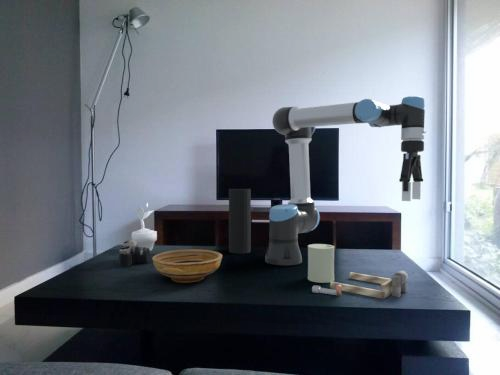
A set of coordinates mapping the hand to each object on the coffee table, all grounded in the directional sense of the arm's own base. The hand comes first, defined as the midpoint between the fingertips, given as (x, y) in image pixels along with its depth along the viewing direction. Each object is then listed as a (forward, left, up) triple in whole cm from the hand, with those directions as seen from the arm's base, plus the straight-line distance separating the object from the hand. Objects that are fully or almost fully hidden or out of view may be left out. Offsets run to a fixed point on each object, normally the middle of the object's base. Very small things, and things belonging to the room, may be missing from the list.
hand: (411, 200), depth 133 cm
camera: (-92, -52, -28) cm, 109 cm away
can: (-23, -24, -27) cm, 43 cm away
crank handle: (-14, -37, -27) cm, 48 cm away
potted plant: (-110, -34, -27) cm, 118 cm away
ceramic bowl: (-60, -52, -27) cm, 84 cm away
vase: (-74, -7, -27) cm, 79 cm away
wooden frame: (-7, -24, -27) cm, 37 cm away
